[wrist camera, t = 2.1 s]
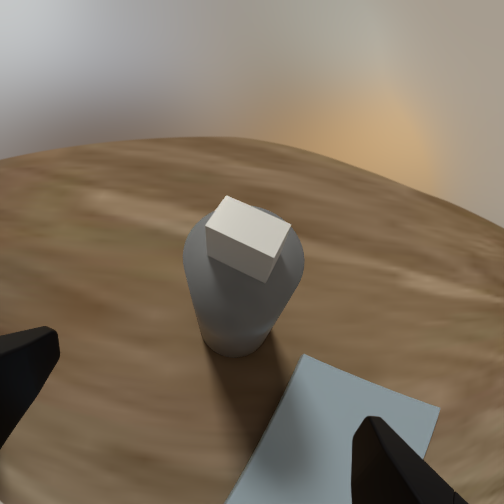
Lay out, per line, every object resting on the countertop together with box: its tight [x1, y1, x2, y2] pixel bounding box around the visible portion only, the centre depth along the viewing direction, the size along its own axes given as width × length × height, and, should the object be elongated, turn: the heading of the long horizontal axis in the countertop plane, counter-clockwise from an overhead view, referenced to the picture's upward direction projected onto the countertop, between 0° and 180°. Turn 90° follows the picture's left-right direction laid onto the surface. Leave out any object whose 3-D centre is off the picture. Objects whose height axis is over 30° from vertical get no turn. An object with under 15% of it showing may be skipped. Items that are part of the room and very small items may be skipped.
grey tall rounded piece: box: [183, 196, 304, 358], centre depth 15 cm, size 5×5×12 cm
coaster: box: [224, 354, 440, 504], centre depth 16 cm, size 12×12×1 cm
